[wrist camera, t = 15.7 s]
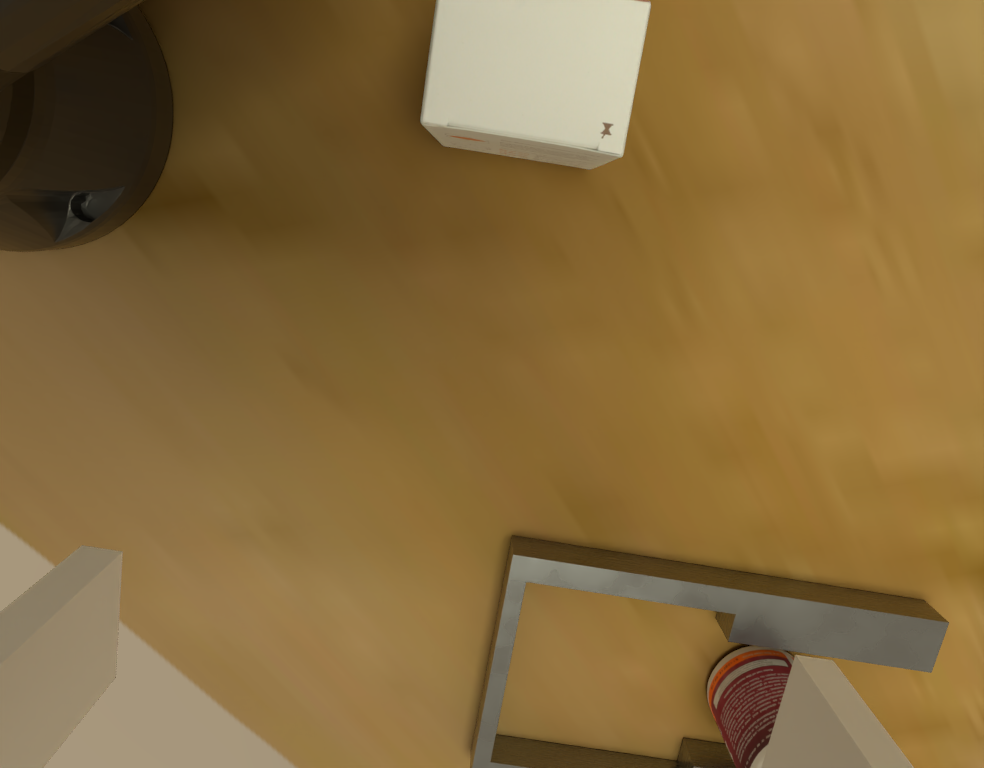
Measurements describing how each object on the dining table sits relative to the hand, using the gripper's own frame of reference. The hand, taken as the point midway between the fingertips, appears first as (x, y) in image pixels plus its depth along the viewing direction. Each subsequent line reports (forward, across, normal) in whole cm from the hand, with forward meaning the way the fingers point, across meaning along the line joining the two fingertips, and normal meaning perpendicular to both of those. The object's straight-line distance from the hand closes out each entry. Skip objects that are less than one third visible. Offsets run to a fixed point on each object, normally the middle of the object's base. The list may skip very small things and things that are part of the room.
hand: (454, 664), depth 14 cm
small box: (+27, 0, +14) cm, 30 cm away
